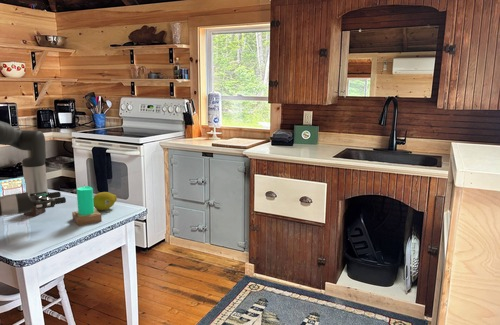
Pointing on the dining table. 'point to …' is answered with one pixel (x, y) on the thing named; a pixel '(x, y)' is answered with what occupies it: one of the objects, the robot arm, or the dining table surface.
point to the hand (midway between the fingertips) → (62, 196)
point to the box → (35, 212)
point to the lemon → (104, 200)
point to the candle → (85, 200)
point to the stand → (86, 218)
